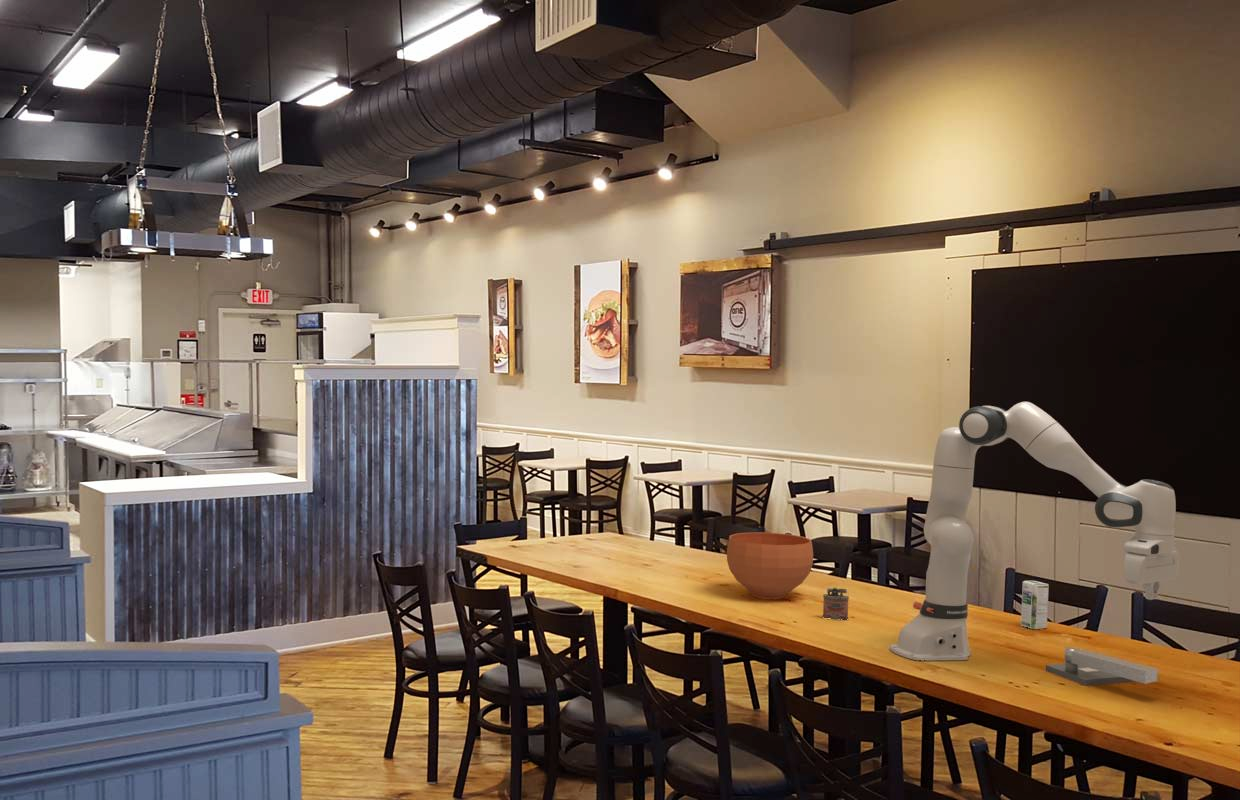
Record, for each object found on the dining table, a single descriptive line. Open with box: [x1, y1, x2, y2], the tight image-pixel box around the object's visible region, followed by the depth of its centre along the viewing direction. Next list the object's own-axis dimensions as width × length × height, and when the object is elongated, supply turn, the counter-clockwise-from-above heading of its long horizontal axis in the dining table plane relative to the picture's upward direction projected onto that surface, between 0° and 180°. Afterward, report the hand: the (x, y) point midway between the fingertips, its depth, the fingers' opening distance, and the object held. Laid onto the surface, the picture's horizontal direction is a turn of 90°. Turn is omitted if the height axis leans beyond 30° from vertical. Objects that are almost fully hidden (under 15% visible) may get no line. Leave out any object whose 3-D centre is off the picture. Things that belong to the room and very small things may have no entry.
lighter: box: [822, 586, 850, 621], centre depth 323 cm, size 8×3×10 cm, turn 76°
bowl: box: [726, 531, 814, 600], centre depth 355 cm, size 30×30×20 cm
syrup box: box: [1020, 580, 1050, 630], centre depth 318 cm, size 6×6×14 cm
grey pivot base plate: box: [1045, 660, 1159, 687], centre depth 266 cm, size 24×14×4 cm, turn 110°
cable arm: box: [1064, 646, 1159, 685], centre depth 254 cm, size 23×5×3 cm, turn 31°
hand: (1151, 599), depth 254 cm, fingers closed
